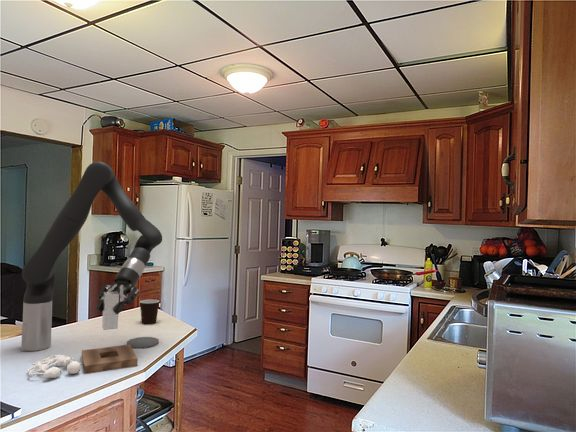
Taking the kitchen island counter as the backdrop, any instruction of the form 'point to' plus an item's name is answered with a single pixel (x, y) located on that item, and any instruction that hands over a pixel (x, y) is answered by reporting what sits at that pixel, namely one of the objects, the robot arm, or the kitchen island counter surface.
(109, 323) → the steel peg
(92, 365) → the socket block
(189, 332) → the kitchen island counter surface
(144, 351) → the kitchen island counter surface
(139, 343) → the rubber pad
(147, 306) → the coffee mug
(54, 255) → the robot arm
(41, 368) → the tangled rod sculpture
